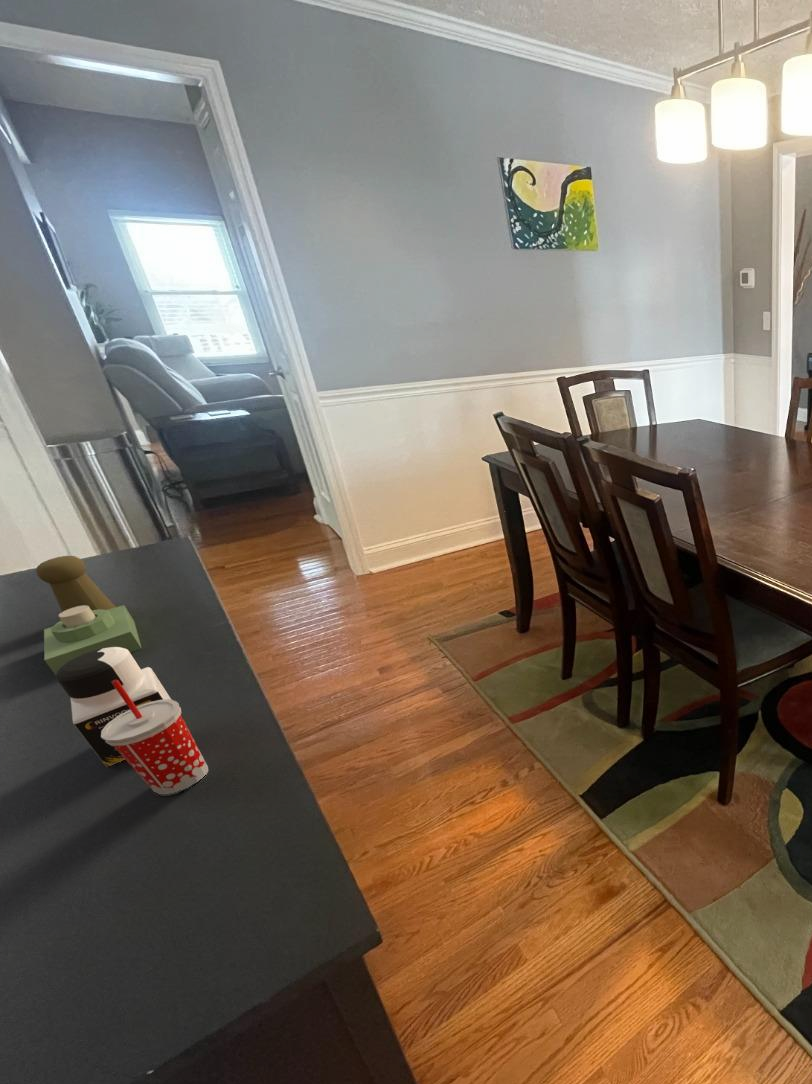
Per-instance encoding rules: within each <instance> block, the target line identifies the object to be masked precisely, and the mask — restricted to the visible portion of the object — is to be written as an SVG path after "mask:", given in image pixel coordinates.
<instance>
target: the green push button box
mask: <svg viewBox="0 0 812 1084" xmlns="http://www.w3.org/2000/svg"><path fill="white" fill-rule="evenodd" d="M92 612H93V614H94V615H95V617H96V618H95V619H94V620H92V621H90V622H88V623H85V624H82V625H79V626H75V627H69V628H66V626H65V625H64V623H63V622H62V620H59V621H58V622H57V623H55V624H54V625H52V626H51V627H50V626H49V627H48V628H44V629H43V650H44V651H43V652H44V653H43V654H44V658H43V659H44V662H45V663H46V664H47V666H48V667H49V668H50V670H51V671H52V672H53V674H54V675H55V676H56V674H57V671H58V670H59V669H60V668H61V667H62V666H63V665H65V664H66V663H68V662H69V661H71V660H72V659H74V658H76V657H78V656H80V655H82V654H85V653H88V652H91V651H94V650H98V649H103V648H110V647H121V648H125V649H127V650H128V651H129V652H130V654H131V653H133V652H136V650H137V651H139V650H142V649H143V648H142V645H141V641H140V637H139V634H138V629H137V626H136V623H135V620H134V618H133V617H132V615H131V614H130V612H129V611H128V609H127V608H126V606H125V605H124V604H122V605H119V606H115V608H112V609H109V610H102V609H98V610H92Z"/></svg>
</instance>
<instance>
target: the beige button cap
mask: <svg viewBox="0 0 812 1084" xmlns="http://www.w3.org/2000/svg"><path fill="white" fill-rule="evenodd" d="M58 618H59V620H60V621H62V622H63V623H64V625H65V626H66V628H69V627H75V626H79V625H82V624H85V623H88V622H90V621H92V620H94V619H95V618H96V617H95V615H94V614H93V612H92V611H91V609H90V608H89V606H86V605H83V606H77V607H73V608H70V609H68V610H65V611H63V612H62V611H61V612H60V613H58Z"/></svg>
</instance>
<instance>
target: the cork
mask: <svg viewBox="0 0 812 1084" xmlns="http://www.w3.org/2000/svg"><path fill="white" fill-rule="evenodd" d="M86 571H87V567H86V564H85V562H84V561H83V560H82V559H81V558H80V557H77V556H75V555H62V556H57V557H53V558H50V559H48V560H44V561H43V562H41V563H40V564H38V565H37V567H36V571H35V572H36V575H37V577H38V578H39V579H40V580H41V581H42V582H45V583H47V584H49V586H50V588H51V590H52V592H53V595H54V598H55V599H56V601H57V604H58V606H59V608H60V610H61V613H62V612H63V611H65V610H68V609H70V608H73V607H77V606H83V605H86V606H89V608H90V609H91V611H92V610H98V609H102V610H109V609H112V608H115V607H116V606H115V604H114V603H113V602H112V601H111V600H110V598H108V597H107V595H105V593H104V592H103V591H102V590H101V589H100V588H99V586H98V585H96V583H95V582H94V581H93V580H92V579H91V578H90V576H88V575H87V574H86Z"/></svg>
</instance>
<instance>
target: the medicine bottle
mask: <svg viewBox="0 0 812 1084" xmlns="http://www.w3.org/2000/svg"><path fill="white" fill-rule="evenodd" d="M55 679H56V681H57V682H58V683H59V685H60V686H61V687H62V689H63V690H64V691H65V692H66V694H67V695H68V697H69V698H70V707H71V708H70V709H71V718H72V724H73V726H74V727H75V728H76V730H77V731H78V733H80V735H81V736H82V738H83V739H84V740H85V741H86V743H87V744H88V745H89V746H90V748H91V749H92V750H93V752H94V753H95V754H96V755H97V758H99V759H100V761H101V762H102V763H103V764H104V766H105V767H106V768H109V767H108V766H111V765H113V764H116V763H118V762H120V763H122V762H121V761H123V760H125V758H124V757H123V756H122V755H121V754H120V753H119V752H118V751H117V750H116V748H115V747H114V746H111V745H109V744H108V743H106V742H105V740H104V739H102V738H101V731H102V730H103V728H104V727H105V726H106V725H107V724H108V723H109V722H110V721H112V720H113V719H114V718H116V717H117V716H119V715H121V714H122V713H124V712H126V711H128V710H130V708H129V707H128V706H127V704H126V703H125V701H124V700H123V698H122V697H121V695H120V694H119V693H118V691H117V690H116V688H115V687H114V685H113V684H112V681H113V680H116V679H117V680H118V681H119V682H120V684H121V685H122V687H123V688H124V690H125V691H126V693H127V694H128V696H129V697H130V698H131V700H132V701H133V703H134V704H135V706H136V707H137V706H140V705H143V704H145V703H148V702H153V701H157V700H172V698H171V697H170V695H169V694H168V692H167V691H166V689H165V687H164V686H163V684H162V683H161V681H160V680H159V678H158V676H157V675H156V673H155V672H154V670H153V668H151V667H149V666H146V667H144V668H141V667H140V666H139V664H138V663H137V661H136V660H135V658H134V656H133V655H132V654H131V653H130V652H129V651H128V650H127V649H125V648H121V647H110V648H103V649H98V650H94V651H91V652H88V653H85V654H82V655H80V656H78V657H76V658H74V659H72V660H71V661H69V662H68V663H66V664H65V665H63V666H62V667H61V668H60V669H59V670H58V671H57V674H56V675H55ZM125 761H126V760H125ZM123 762H124V761H123ZM118 764H119V763H118ZM116 765H117V764H116ZM113 766H114V765H113ZM111 767H112V766H111Z"/></svg>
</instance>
